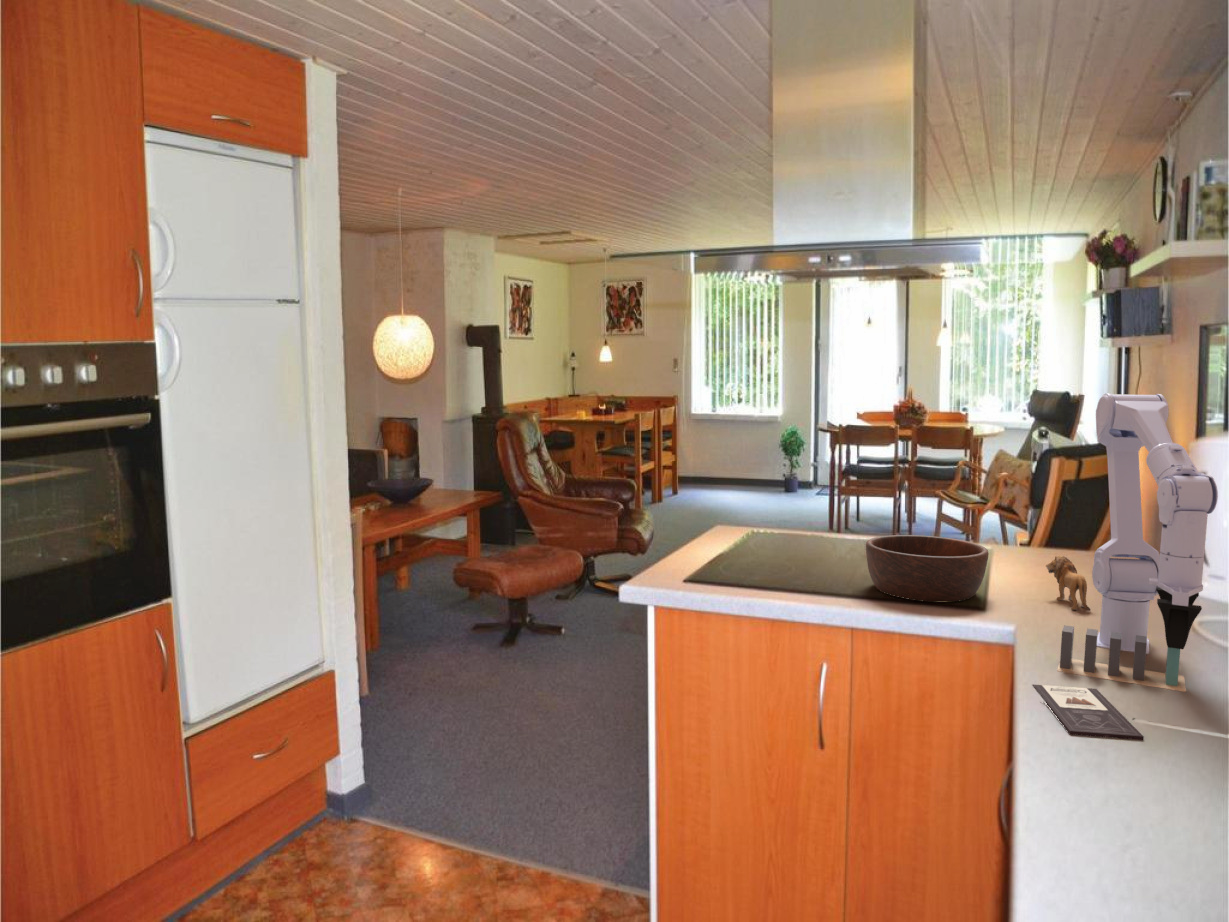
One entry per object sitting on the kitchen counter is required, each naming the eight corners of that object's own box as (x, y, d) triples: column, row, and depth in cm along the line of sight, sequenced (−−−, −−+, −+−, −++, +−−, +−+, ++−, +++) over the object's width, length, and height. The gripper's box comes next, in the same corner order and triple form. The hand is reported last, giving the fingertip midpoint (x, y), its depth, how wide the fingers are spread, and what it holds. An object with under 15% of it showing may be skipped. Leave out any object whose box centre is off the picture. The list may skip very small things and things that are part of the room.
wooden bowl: (852, 597, 192) (854, 549, 191) (877, 574, 214) (879, 530, 213) (979, 613, 181) (981, 562, 180) (991, 587, 203) (994, 541, 202)
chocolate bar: (1070, 730, 121) (1032, 684, 138) (1069, 737, 121) (1032, 690, 139) (1143, 736, 119) (1096, 688, 137) (1143, 743, 119) (1095, 694, 137)
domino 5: (1165, 684, 139) (1168, 646, 139) (1165, 676, 143) (1168, 639, 142) (1177, 686, 139) (1180, 647, 138) (1176, 678, 142) (1179, 641, 142)
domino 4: (1132, 679, 142) (1135, 641, 141) (1132, 671, 145) (1135, 635, 144) (1143, 680, 141) (1146, 643, 140) (1143, 673, 144) (1146, 636, 144)
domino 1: (1059, 667, 147) (1062, 631, 146) (1061, 660, 150) (1063, 625, 150) (1070, 669, 146) (1072, 632, 145) (1071, 662, 149) (1074, 626, 149)
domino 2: (1083, 671, 145) (1085, 634, 144) (1084, 664, 149) (1087, 628, 148) (1094, 673, 144) (1096, 636, 144) (1095, 666, 148) (1097, 629, 147)
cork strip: (1060, 659, 152) (1061, 657, 152) (1183, 678, 143) (1183, 676, 143) (1056, 673, 145) (1056, 670, 145) (1185, 694, 137) (1185, 691, 137)
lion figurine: (1041, 594, 196) (1043, 553, 195) (1065, 594, 196) (1068, 553, 195) (1077, 613, 181) (1080, 568, 181) (1103, 613, 182) (1106, 568, 181)
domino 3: (1107, 675, 143) (1110, 638, 143) (1108, 668, 147) (1111, 631, 146) (1118, 677, 143) (1121, 639, 142) (1119, 669, 146) (1121, 633, 145)
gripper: (1151, 543, 147) (1144, 625, 148) (1151, 559, 134) (1144, 649, 136) (1203, 548, 143) (1196, 632, 145) (1208, 565, 131) (1200, 657, 132)
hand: (1174, 641), depth 140 cm, fingers open, 7 cm apart
